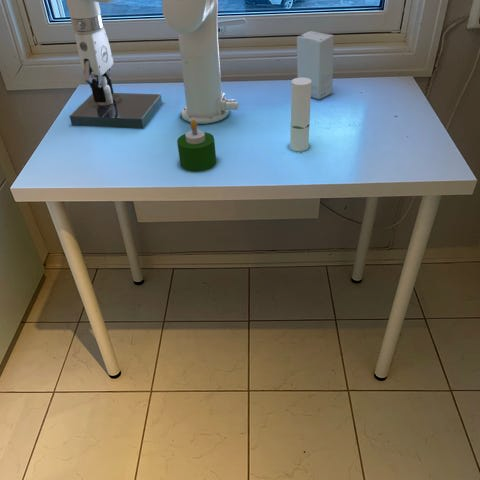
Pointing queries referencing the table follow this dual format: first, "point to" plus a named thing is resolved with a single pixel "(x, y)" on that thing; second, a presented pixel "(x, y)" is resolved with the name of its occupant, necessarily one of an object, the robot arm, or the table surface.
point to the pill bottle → (105, 91)
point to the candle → (196, 149)
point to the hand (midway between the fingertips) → (104, 97)
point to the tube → (300, 113)
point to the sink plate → (118, 111)
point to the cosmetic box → (316, 61)
